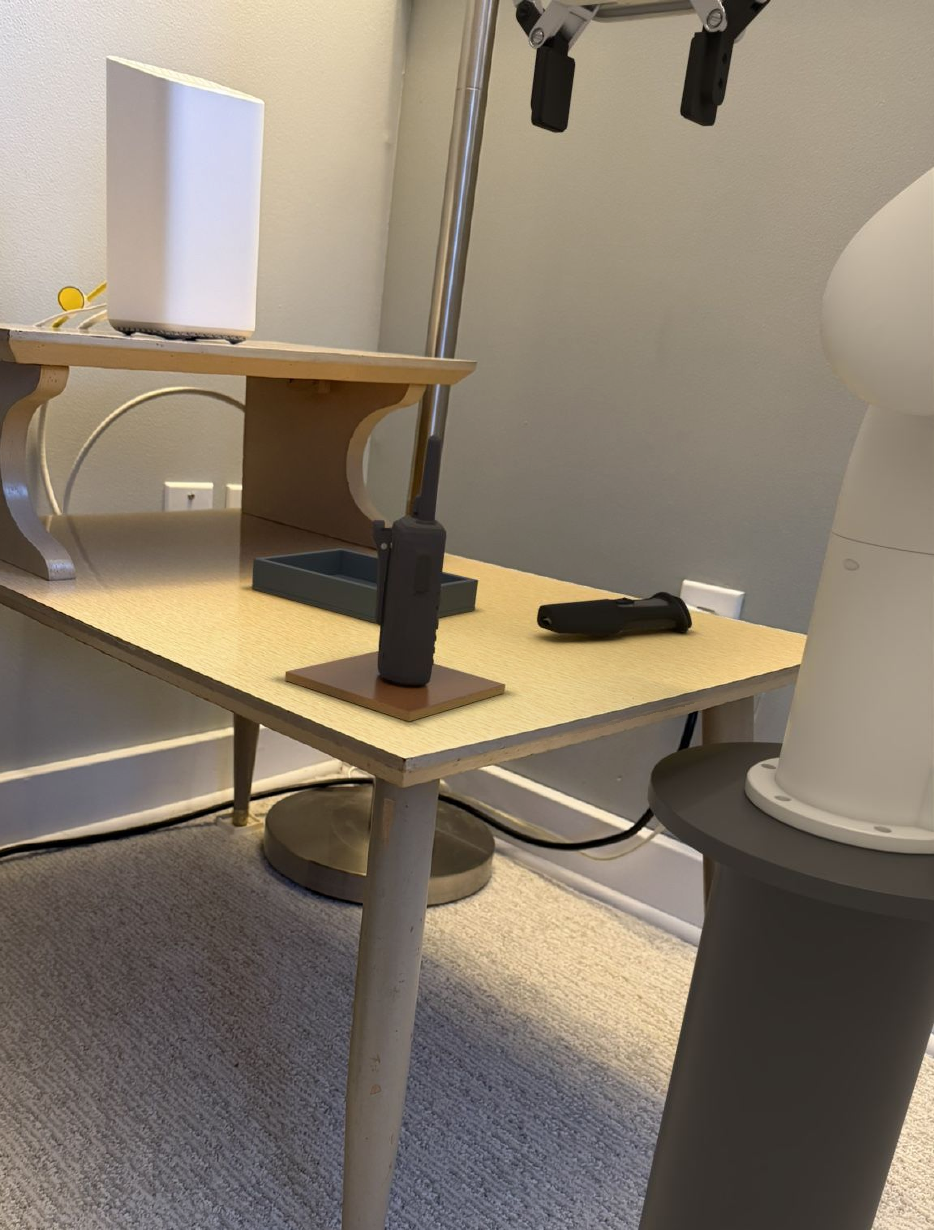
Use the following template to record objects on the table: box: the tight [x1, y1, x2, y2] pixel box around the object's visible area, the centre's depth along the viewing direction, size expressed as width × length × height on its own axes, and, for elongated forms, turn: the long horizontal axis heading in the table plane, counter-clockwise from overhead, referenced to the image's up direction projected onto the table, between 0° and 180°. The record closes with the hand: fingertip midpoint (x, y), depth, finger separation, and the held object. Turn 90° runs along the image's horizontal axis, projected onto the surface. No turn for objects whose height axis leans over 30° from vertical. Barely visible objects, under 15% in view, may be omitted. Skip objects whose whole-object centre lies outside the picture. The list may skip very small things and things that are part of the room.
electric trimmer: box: [536, 591, 693, 637], centre depth 92 cm, size 4×16×3 cm, turn 123°
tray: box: [251, 547, 479, 624], centre depth 97 cm, size 15×11×3 cm
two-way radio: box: [371, 434, 447, 686], centre depth 71 cm, size 6×4×15 cm
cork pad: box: [284, 650, 506, 722], centre depth 74 cm, size 10×10×1 cm
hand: (619, 125), depth 68 cm, fingers open, 9 cm apart
